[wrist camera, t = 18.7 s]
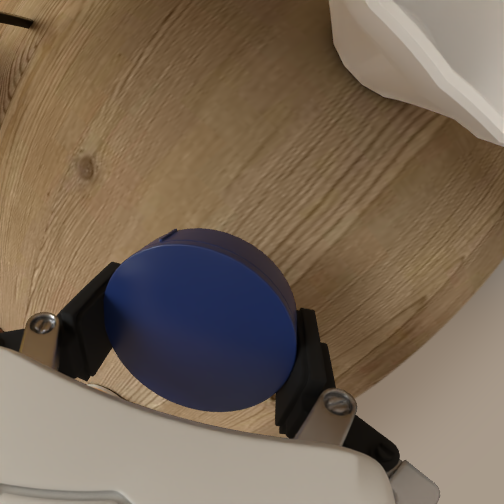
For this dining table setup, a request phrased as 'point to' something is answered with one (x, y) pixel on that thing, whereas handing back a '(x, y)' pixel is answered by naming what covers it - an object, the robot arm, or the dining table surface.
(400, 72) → the cup
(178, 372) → the jar lid
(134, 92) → the dining table surface
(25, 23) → the planter
